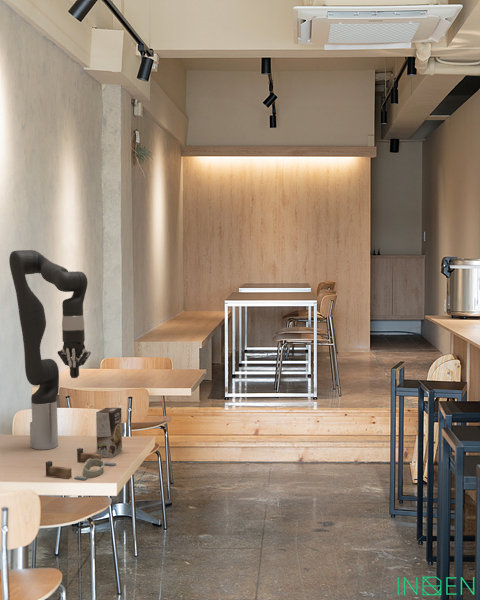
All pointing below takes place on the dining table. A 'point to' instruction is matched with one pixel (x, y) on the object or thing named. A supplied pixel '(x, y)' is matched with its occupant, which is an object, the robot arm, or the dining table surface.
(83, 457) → the corridor
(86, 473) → the wristwatch
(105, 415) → the coffee box
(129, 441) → the dining table surface
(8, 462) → the dining table surface
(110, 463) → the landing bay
